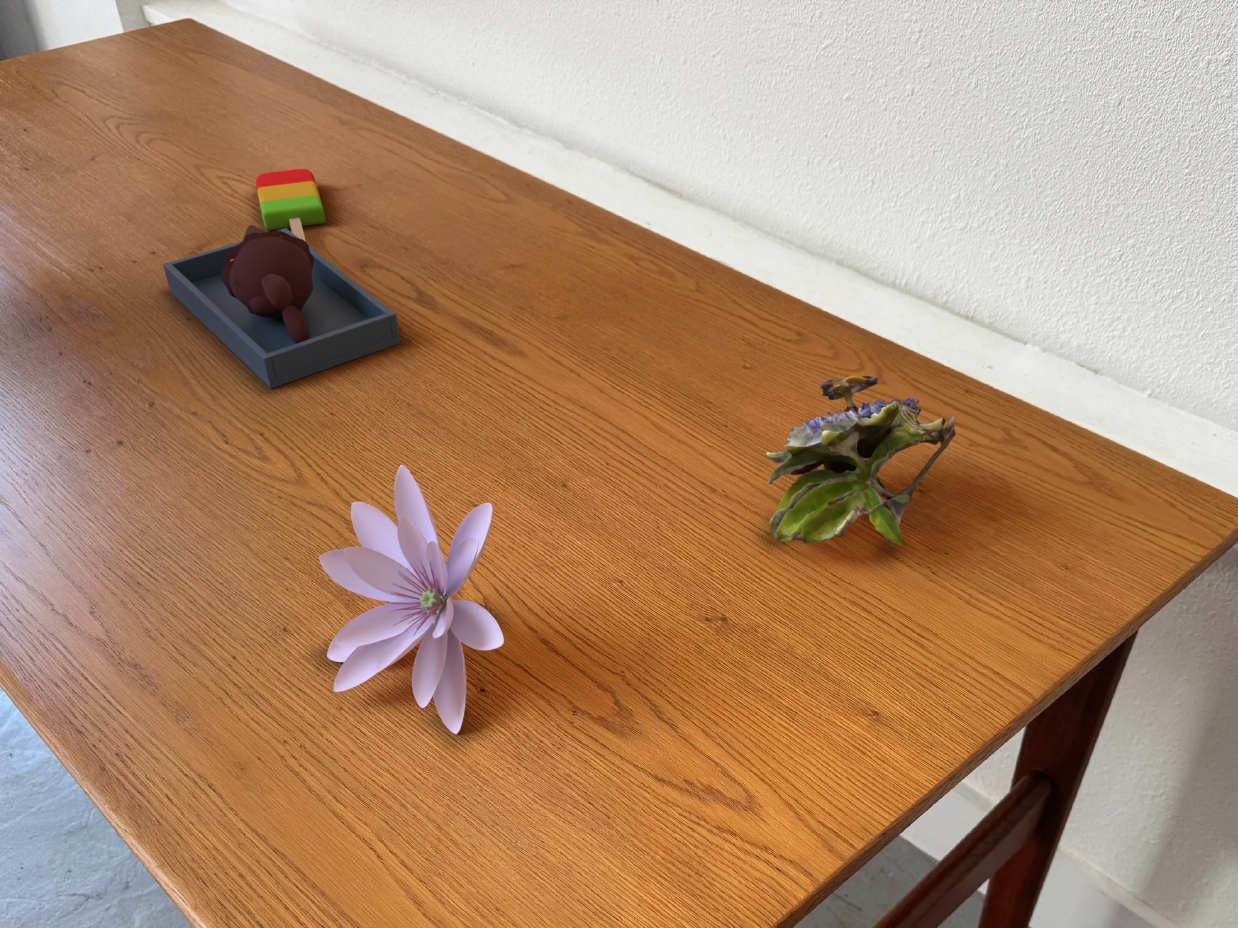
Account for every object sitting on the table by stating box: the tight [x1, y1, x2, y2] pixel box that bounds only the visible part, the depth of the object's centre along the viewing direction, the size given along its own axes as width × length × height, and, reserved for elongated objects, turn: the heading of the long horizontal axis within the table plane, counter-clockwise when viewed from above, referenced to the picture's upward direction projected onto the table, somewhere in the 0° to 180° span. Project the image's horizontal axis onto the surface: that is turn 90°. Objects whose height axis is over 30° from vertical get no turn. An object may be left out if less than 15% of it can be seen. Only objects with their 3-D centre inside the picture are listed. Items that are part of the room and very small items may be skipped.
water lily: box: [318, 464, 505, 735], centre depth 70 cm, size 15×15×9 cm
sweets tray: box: [162, 228, 401, 389], centre depth 100 cm, size 11×19×3 cm, turn 38°
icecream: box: [221, 224, 314, 344], centre depth 98 cm, size 7×7×15 cm
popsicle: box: [255, 168, 326, 242], centre depth 113 cm, size 6×15×2 cm, turn 17°
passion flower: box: [765, 375, 957, 552], centre depth 79 cm, size 11×11×12 cm
